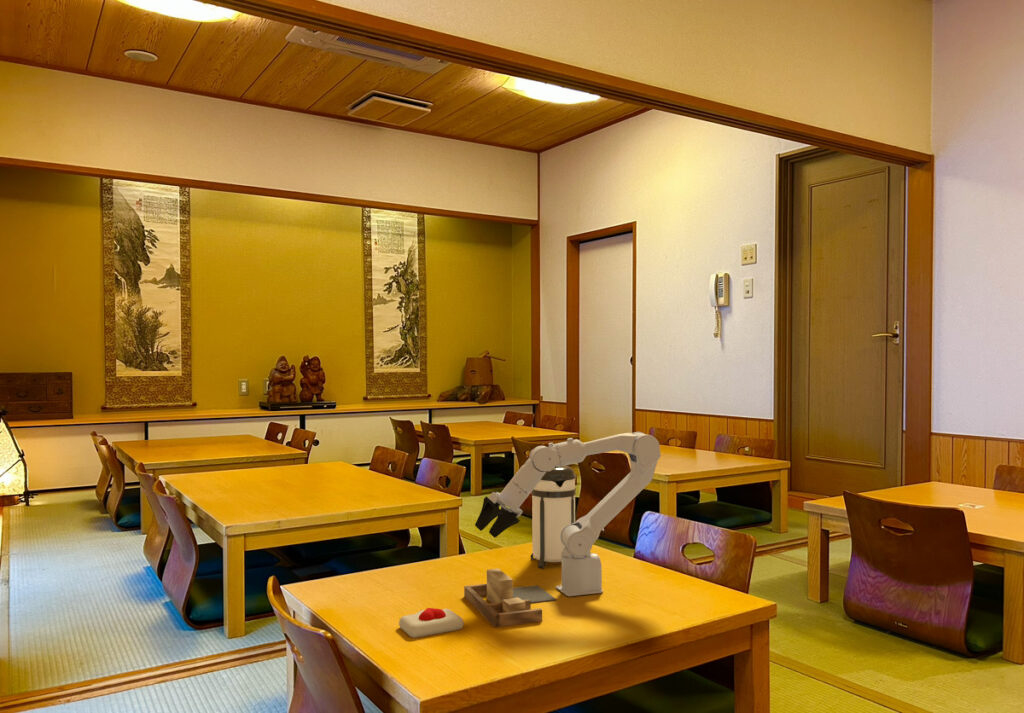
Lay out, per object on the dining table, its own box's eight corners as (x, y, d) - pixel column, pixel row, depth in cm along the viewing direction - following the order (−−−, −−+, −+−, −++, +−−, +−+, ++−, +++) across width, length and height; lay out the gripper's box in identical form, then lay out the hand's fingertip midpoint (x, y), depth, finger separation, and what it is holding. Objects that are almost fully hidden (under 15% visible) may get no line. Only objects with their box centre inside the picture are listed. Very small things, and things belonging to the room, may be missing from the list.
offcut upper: (517, 606, 172) (517, 597, 172) (525, 611, 169) (525, 601, 169) (502, 608, 171) (502, 599, 171) (509, 613, 167) (509, 604, 167)
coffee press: (592, 560, 218) (592, 455, 218) (560, 572, 206) (560, 460, 206) (543, 551, 229) (542, 450, 229) (509, 562, 216) (509, 456, 217)
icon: (446, 597, 171) (465, 610, 163) (446, 617, 171) (465, 630, 163) (394, 606, 166) (411, 619, 157) (394, 626, 166) (411, 641, 157)
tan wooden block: (498, 597, 184) (498, 568, 185) (512, 610, 175) (512, 579, 175) (486, 599, 183) (486, 569, 184) (500, 611, 174) (500, 580, 174)
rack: (507, 591, 189) (507, 581, 189) (542, 621, 167) (542, 609, 167) (464, 596, 185) (464, 586, 185) (494, 627, 164) (494, 615, 164)
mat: (537, 586, 193) (537, 585, 193) (556, 600, 182) (556, 599, 182) (503, 590, 190) (503, 588, 190) (520, 604, 179) (520, 603, 179)
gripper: (520, 486, 196) (487, 528, 195) (496, 469, 184) (460, 514, 183) (539, 502, 192) (505, 545, 191) (515, 486, 180) (479, 532, 179)
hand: (484, 531), depth 187 cm, fingers open, 7 cm apart
